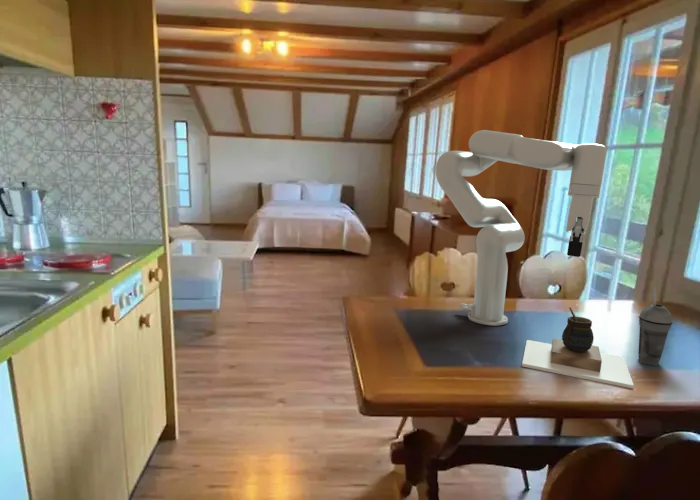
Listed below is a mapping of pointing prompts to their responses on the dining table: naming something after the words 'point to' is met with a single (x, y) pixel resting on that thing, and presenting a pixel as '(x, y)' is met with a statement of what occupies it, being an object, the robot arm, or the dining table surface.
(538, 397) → the dining table surface
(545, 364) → the board
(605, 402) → the dining table surface
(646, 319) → the beverage cup
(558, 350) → the walnut plinth
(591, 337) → the mate gourd
